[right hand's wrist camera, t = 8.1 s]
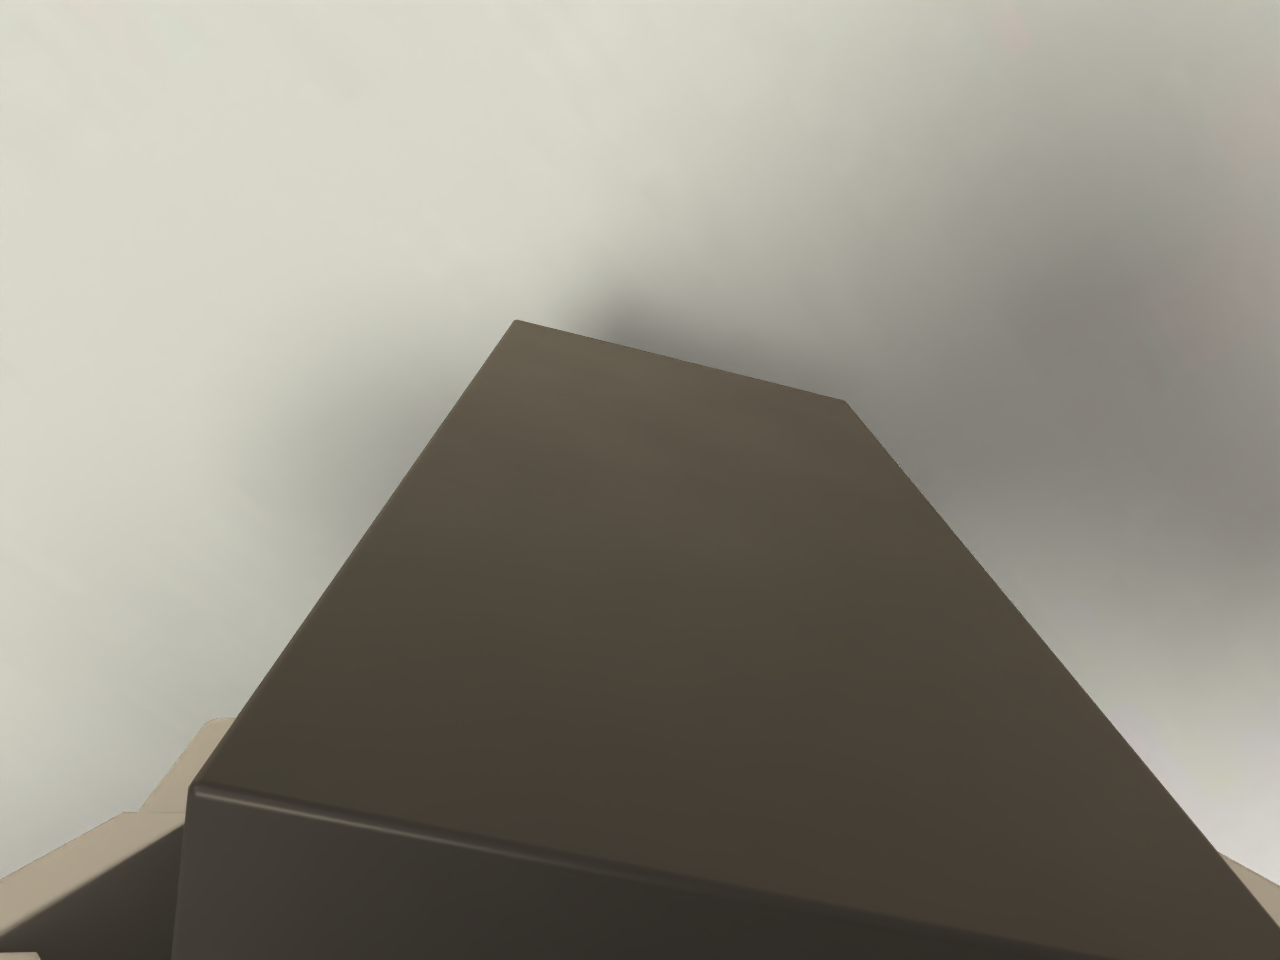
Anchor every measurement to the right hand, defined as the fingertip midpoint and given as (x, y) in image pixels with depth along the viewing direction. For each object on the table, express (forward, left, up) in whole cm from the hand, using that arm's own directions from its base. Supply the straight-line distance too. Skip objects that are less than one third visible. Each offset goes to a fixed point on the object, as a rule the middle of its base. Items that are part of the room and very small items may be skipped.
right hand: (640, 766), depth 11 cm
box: (+5, +5, -7) cm, 10 cm away
